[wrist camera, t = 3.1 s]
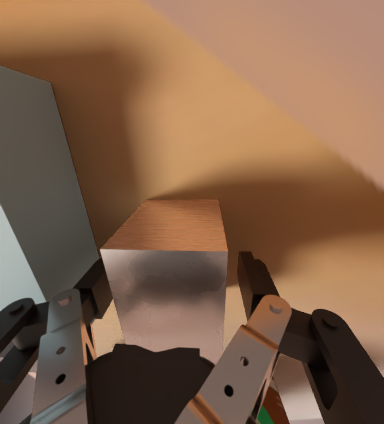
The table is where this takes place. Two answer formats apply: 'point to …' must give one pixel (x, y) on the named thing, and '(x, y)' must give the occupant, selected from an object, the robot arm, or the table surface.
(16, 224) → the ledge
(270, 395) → the food container
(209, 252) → the block
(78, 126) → the table surface
